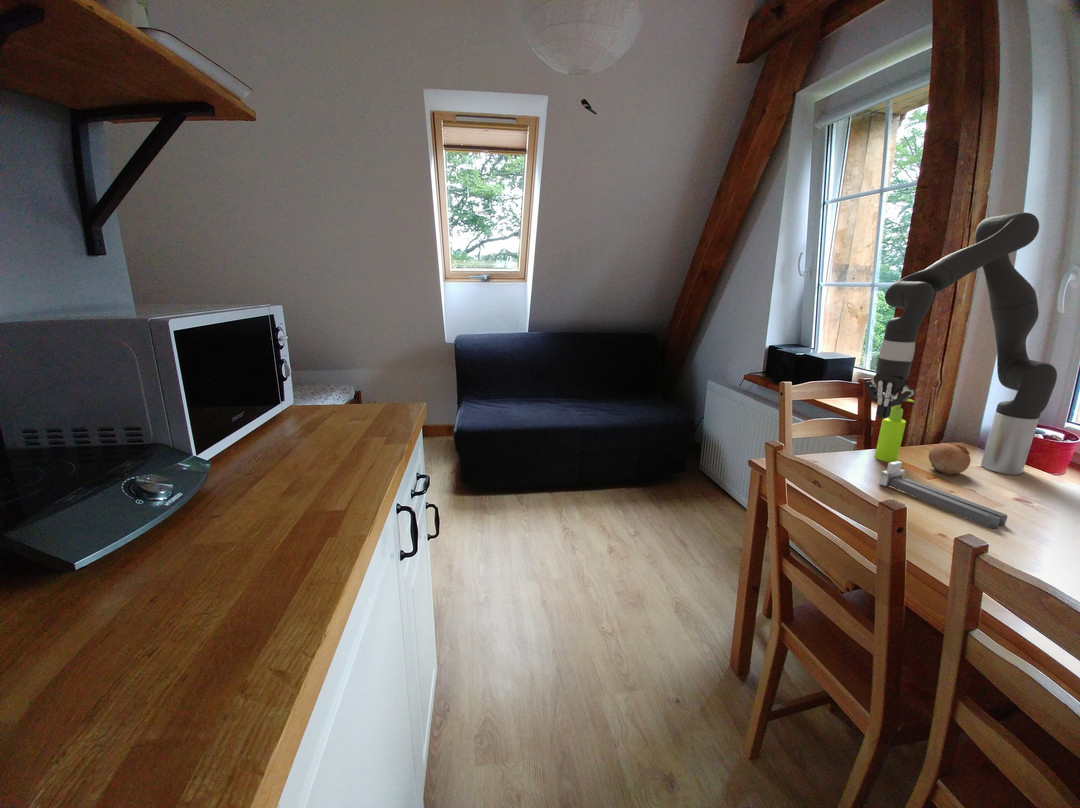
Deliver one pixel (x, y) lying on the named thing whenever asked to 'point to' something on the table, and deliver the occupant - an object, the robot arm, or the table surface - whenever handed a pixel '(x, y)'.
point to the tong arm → (962, 501)
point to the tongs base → (946, 503)
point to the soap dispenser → (891, 435)
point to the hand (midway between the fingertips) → (882, 418)
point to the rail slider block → (891, 472)
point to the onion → (949, 458)
